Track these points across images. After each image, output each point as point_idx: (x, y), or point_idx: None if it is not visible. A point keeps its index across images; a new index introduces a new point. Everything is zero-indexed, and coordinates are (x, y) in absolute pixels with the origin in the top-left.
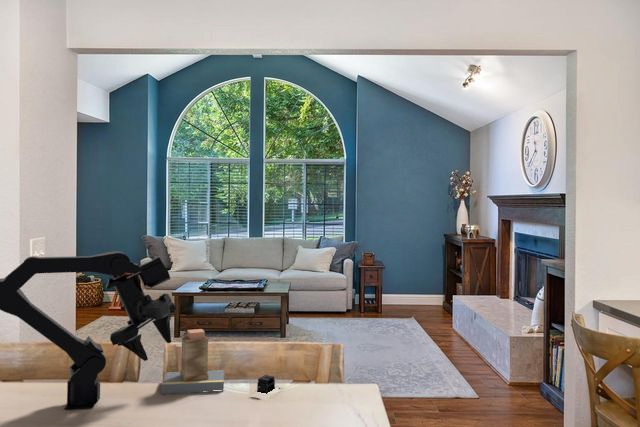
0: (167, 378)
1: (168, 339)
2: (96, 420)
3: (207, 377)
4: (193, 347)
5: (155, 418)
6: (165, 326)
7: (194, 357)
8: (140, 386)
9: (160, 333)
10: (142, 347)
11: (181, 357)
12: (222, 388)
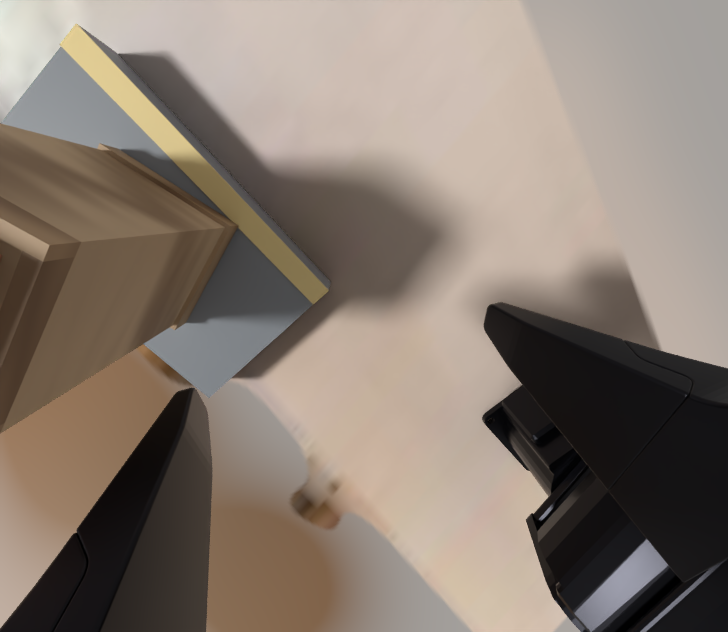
0: (258, 331)
1: (192, 419)
2: (619, 268)
3: (116, 149)
4: (32, 188)
5: (523, 89)
6: (126, 611)
7: (100, 190)
8: (323, 407)
9: (208, 556)
10: (610, 354)
11: (127, 352)
12: (111, 50)
